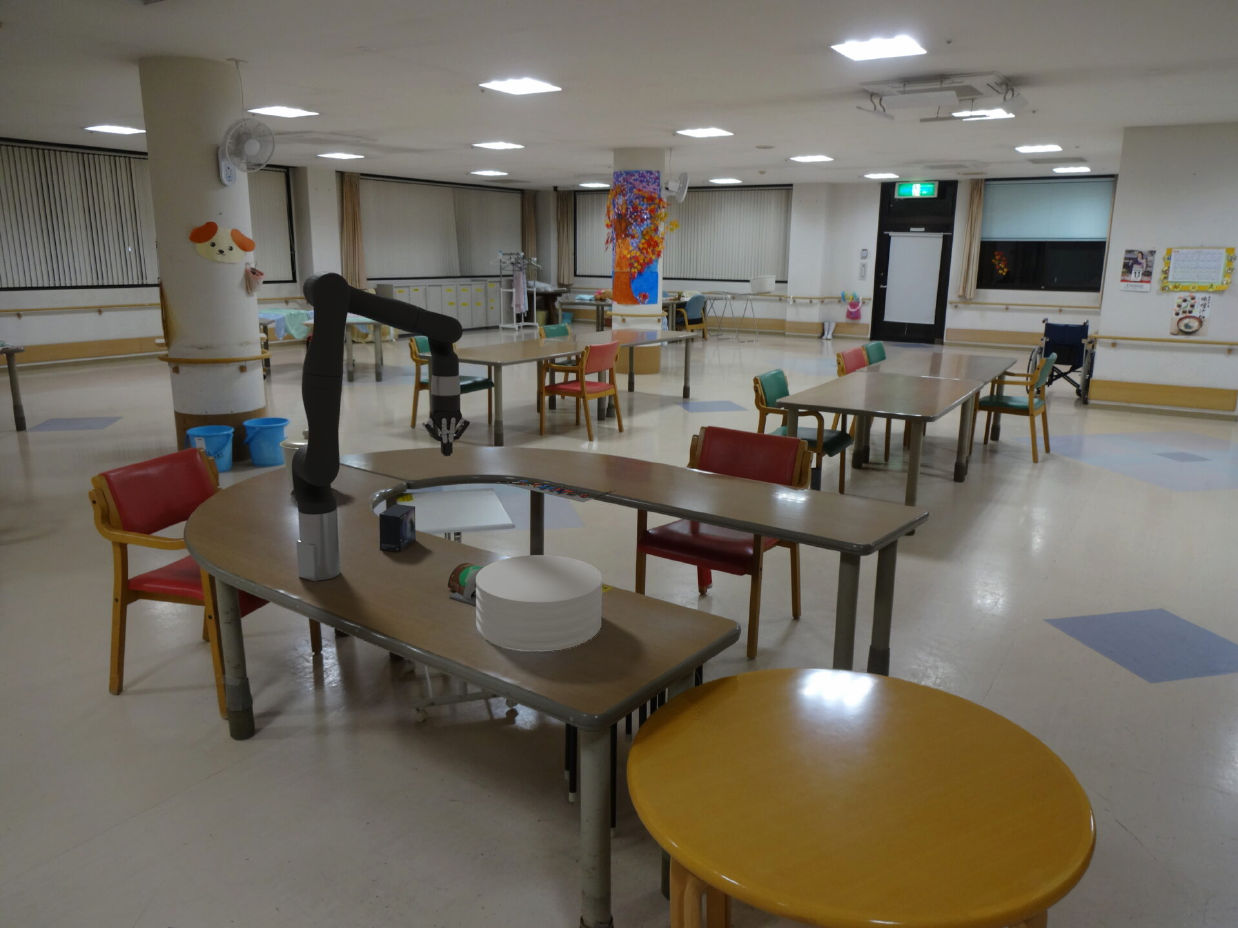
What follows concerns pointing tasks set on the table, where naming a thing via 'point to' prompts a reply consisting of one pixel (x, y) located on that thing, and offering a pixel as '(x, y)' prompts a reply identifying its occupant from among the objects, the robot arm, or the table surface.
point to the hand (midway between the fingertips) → (446, 455)
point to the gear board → (551, 491)
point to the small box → (397, 527)
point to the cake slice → (464, 579)
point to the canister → (292, 452)
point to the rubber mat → (460, 598)
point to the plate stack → (538, 602)
